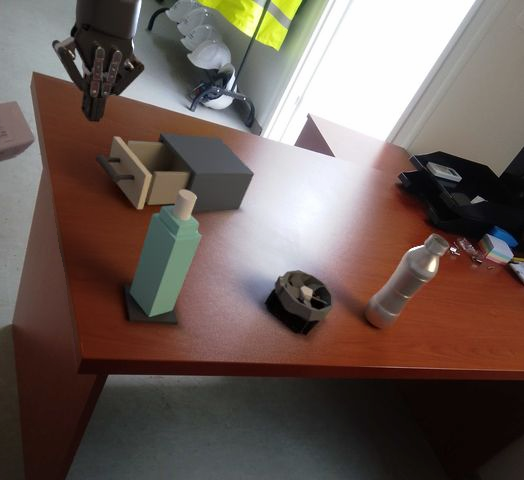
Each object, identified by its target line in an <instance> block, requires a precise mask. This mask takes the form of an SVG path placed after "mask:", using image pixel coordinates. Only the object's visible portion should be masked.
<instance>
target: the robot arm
mask: <svg viewBox="0 0 524 480" xmlns="http://www.w3.org/2000/svg"><path fill="white" fill-rule="evenodd" d="M142 2H143V0H76V4H75V20H74V21H75V22H74V24H73V26H72V27H71V29H70V32H69V33H70V34H69V35H70V36H69V37H67V38H66V39H64V40H62V41H60V40H58V39H55V40H53V41H52V42H51V47H52V49H53V50H54V52H55V54H56V56H57V58H58V60H59V61H60V63H61V64H62V66H63V68H64V70H65V71H66V73H67V75H68V76H69V78H70V80H71V81H72V82H73V83H74V85H75V87H76V88H78V90H79V91H80V92H83V93H82V100H81V106H80V107H81V108H80V109H81V112H82V113H83V116H84V117H85V118H86V120H87V121H88V122H93V123H99V122H101V119H103V117H104V115H105V111H106V104H107V99H109V97H110V96H112V95H114V96H116V97H119V96H120V95H122V93H123V92H124V91H125V90H126V89H127V88H129V86H131V84H132V83H133V82H134V81H135V80H136V79H137V78H138V77H139V76H140V75H141V74H142V73H143V72H144V71H145V64H144V63H142V61H141V60H140V59H139V58H138V57H137V55H136V54H135V53H134V50H135V46H134V42H133V41H134V40H133V39H134V37H135V36H136V33H137V27H138V23H139V18H140V12H141V6H142ZM76 51H77V53H78V56H79V57H80V60H81V61H82V62H81V69H82V72H83V73H81V72H80V70H79V68H78V66H77V65H76V62H75V60H76V58H77V54H76Z"/></svg>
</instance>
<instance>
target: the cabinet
mask: <svg viewBox="0 0 524 480" xmlns="http://www.w3.org/2000/svg"><path fill="white" fill-rule="evenodd" d="M157 142H160V143H165V144H166V145H167V146H168V147H169V148H170V149H171V151H172V152H173V153H174V154H175V155H176V156H177V157H178V158H179V160H180V161H181V162H182V163H183V164H184V165H185V166H186V167H187V169H188V170H189V171H190V172H191V173H192V174H193V175H192V178H191V181H190V184H189V187H188V190H189V191H191V192H192V193H194V194H195V195H196V201H195V204H194V207H193V209H192V212H191V213H203V212H219V211H221V212H222V211H234V210H239V209H240V207H241V204H242V202H243V200H244V198H245V196H246V193H247V191H248V189H249V188H250V187H249V186H250V185H251V182H252V180H253V177H254V175H255V173H254V172H253V171H252V169H251V168H249V166H248V165H247V164H246V163H244V161H243V160H242V159H241V158H240V157H239V156H238V155H237V154H236V153H235V152H234V151H233V150H232V149H231V148H230V147H229V146H228V145H227V144H226V143H225V142H224V140H222V139H221V137H215V136H203V135H190V134H176V133H163V132H161V133H159V137H158V140H157Z"/></svg>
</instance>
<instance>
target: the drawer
mask: <svg viewBox="0 0 524 480" xmlns="http://www.w3.org/2000/svg"><path fill="white" fill-rule="evenodd" d="M95 159H96V160H95V161H96V162H97V163H98V164H99V165H100V167H101V168H102V169H103V170H104V172H105V173H106V174H107V176H108V177H109V178H110V180H111V181H112V182H113V183H116V184H117V186H118V187H119V188H120V190H121V191H122V193H123V194H124V195H125V196H126V197H127V198H128V200H129V201H130V203H131V204H132V205H133V206H134V208H135V209H136V210H143V209H144V206H145V203H146V205H147V206H154V205H155V206H156V205H175V202H176V199H177V196H178V193H179V191H180V190H182V189H185V190H188V187H189V184H190V181H191V178H192V175H193V174H192V173H191V172H190V171H189V170H188V169H187V167H186V166H185V165H184V164H183V163H182V162H181V161H180V160H179V158H178V157H177V156H176V155H175V154H174V153H173V152H172V151H171V149H170V148H169V147H168V146H167V145H166V144H165V143H160V142H158V141H143V140H142V141H141V140H128V141H127V143H125V142H124V140H123V139H122V138H121V137H120V136H113V137H112V142H111V147H110V153H109V157H107V156H104V155H103V154H98V155H96V158H95Z"/></svg>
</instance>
